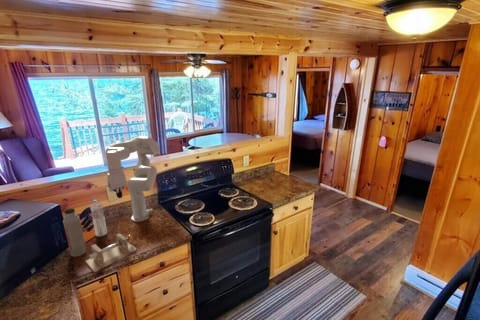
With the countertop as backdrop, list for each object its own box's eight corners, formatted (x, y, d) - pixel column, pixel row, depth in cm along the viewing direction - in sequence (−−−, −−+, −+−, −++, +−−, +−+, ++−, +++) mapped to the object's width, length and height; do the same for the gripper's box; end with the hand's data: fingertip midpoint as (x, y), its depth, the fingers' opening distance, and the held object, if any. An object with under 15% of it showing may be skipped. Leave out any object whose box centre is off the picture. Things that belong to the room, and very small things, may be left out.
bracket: (126, 242, 161) (124, 229, 158) (136, 250, 154) (134, 236, 151) (85, 262, 144) (82, 248, 141) (94, 272, 136) (91, 257, 133)
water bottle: (93, 236, 168) (86, 201, 161) (101, 230, 174) (95, 197, 167) (101, 237, 166) (95, 203, 159) (109, 232, 172) (103, 198, 165)
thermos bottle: (72, 258, 147) (61, 215, 139) (69, 251, 153) (59, 209, 144) (87, 252, 152) (78, 210, 143) (85, 246, 158) (76, 205, 149)
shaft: (129, 239, 158) (128, 233, 157) (133, 242, 155) (132, 235, 154) (89, 258, 141) (87, 252, 140) (92, 262, 138) (90, 255, 137)
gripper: (124, 166, 164) (127, 192, 170) (100, 172, 153) (105, 200, 159) (130, 168, 160) (133, 195, 166) (105, 175, 149) (110, 203, 154)
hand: (119, 197), depth 162 cm, fingers closed
